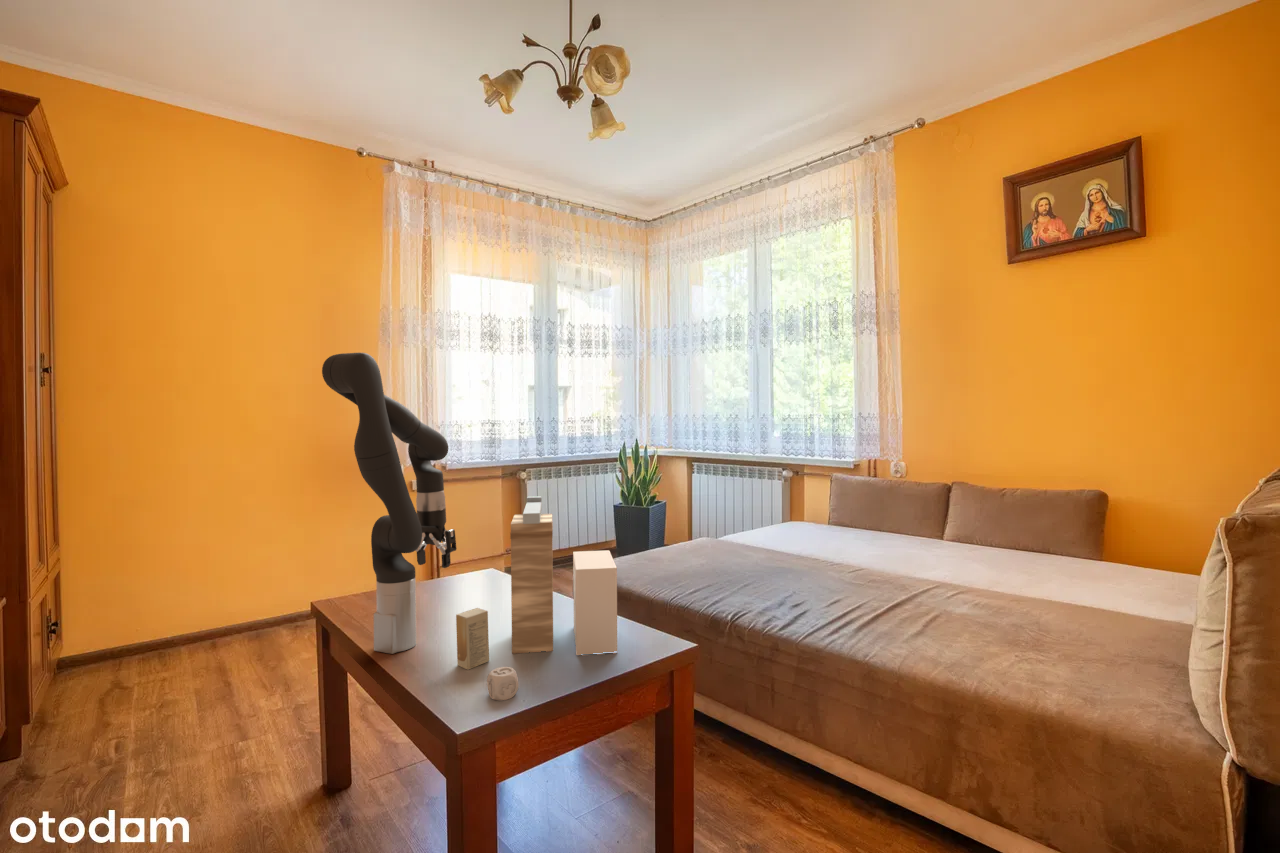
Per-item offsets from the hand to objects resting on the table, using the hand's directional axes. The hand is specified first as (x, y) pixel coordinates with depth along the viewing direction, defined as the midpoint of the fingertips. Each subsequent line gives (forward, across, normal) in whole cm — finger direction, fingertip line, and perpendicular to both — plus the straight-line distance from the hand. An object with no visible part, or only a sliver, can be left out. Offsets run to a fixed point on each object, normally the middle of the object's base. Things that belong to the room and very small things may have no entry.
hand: (433, 565), depth 163 cm
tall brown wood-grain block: (+18, +31, +2) cm, 35 cm away
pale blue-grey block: (-14, +29, +7) cm, 33 cm away
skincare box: (+17, +25, -16) cm, 34 cm away
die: (+16, +42, -26) cm, 52 cm away
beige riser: (+18, +44, +9) cm, 49 cm away
